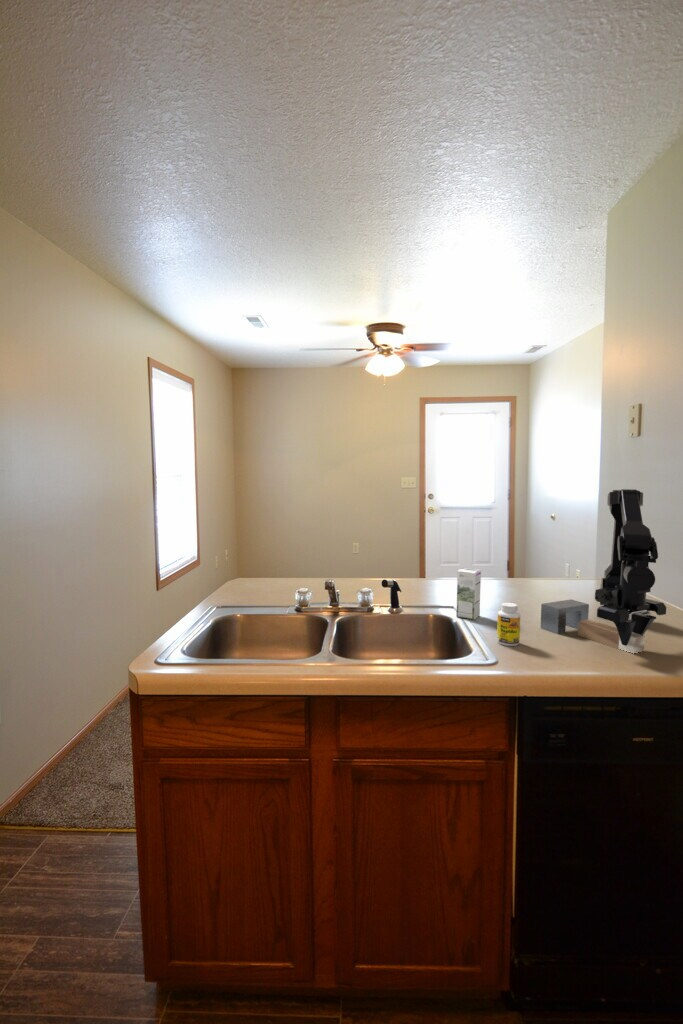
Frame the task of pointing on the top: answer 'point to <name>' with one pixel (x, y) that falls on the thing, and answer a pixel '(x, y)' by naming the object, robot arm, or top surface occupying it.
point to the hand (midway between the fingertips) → (630, 644)
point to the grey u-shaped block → (563, 615)
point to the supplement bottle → (508, 625)
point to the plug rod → (609, 636)
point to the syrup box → (468, 593)
